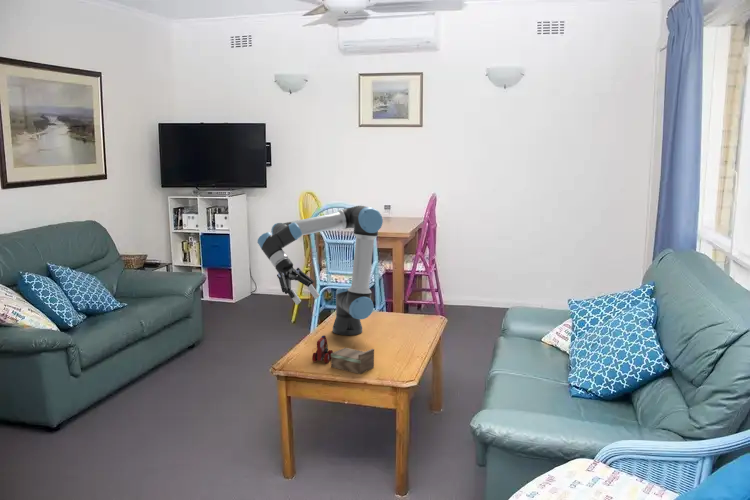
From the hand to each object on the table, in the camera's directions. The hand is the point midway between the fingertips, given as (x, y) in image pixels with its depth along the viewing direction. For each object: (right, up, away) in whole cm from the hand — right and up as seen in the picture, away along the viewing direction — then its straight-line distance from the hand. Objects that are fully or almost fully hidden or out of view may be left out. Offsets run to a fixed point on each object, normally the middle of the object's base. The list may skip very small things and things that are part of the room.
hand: (308, 300), depth 272 cm
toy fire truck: (+6, -26, -1) cm, 27 cm away
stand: (+20, -28, -10) cm, 35 cm away
